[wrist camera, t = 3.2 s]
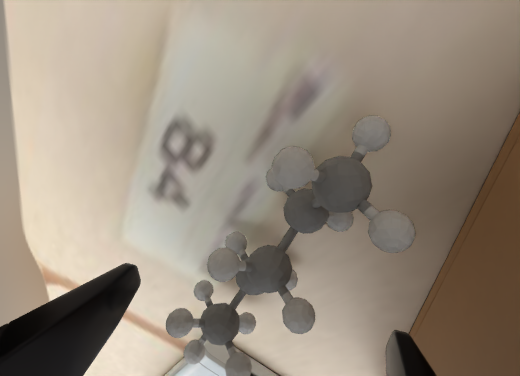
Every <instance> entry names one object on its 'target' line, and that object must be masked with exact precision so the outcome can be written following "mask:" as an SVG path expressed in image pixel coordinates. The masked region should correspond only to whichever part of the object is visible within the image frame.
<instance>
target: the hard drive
mask: <svg viewBox="0 0 520 376" xmlns="http://www.w3.org/2000/svg"><path fill="white" fill-rule="evenodd" d="M204 346H205V355H204V357H203V359H202V360H201V361H200V362H199V363H197V364H189V363H187V361H186V360H185V358H183V359H182V360H181V361H180V362H179V363H178V364H176V365H175V366H174V367H173V368H172V369H171V370H170V371H169V372H168V373H167V374H166V375H164V376H226V371H225V365H226V362H227V360H228V359H229V357H230V356H229V354H228V351H227V349H226V346H225V345H214V344H211V343H210V342H209V341H208V340H207V341H206V342H205V343H204ZM235 349H236V352H242V351H240V350H239V349H237V348H236V347H235ZM247 356H248V355H247ZM248 357H249V356H248ZM249 358H250V360H251V364H252V370H251V375H250V376H278V375H277V374H275V373H274V372H272V371H271V370H269V369H268V368H266V367H264V366H263V365H261V364H260V363H258V362H257V361H255V360H254V359H252V358H251V357H249Z"/></svg>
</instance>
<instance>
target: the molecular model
mask: <svg viewBox="0 0 520 376" xmlns="http://www.w3.org/2000/svg"><path fill="white" fill-rule="evenodd" d="M390 136H391V130H390V125H389V124H388V123H387V121H386V120H385V119H383V118H381V117H379V116H367V117H364V118H362V119H361V120H360V121H358V122H357V123H356V125H355V127H354V129H353V133H352V139H353V142H354V144H355V146H357V147H356V149H355V151H354V152H353V154H352V156H351V157H344V156H337V157H334V158H331V159H328V160H325V161H324V162H323V163H322V164H321V165H320V166H318V167H317V168H316V169H315V167H314V162H313V158H312V156H311V155H310V154H309V152H308V151H307V150H305V149H302V148H300V147H287V148H284V149H282V150H281V151H280V152H279V153H278V154H277V155H276V156H275V158H274V160H273V163H272V168H271V169H270V170H269V171H268V172H267V174H266V182H267V185H268V186H269V188H271V189H272V190H275V191H284V192H285V193H286V194H287V195H288V196H289V197H288V198H287V200H286V203H285V205H284V216H285V219H286V221H287V223H288V224H289V225H290V226H291V227H290V228H289V230H288V232H287V233H286V235H285V236H284V238H283V239H282V241H281V242H280V244H279V246H278V247H276V246H271V245H267V246H263V247H260V248H258V249H257V250H255V251H254V252H253V253H252V254H251V255H250V257H248V256H247V254H246V252H245V251H244V250H245V249H246V247H247V239H246V237H245V235H244V234H242V233H241V232H233V233H231V234H229V235H228V236H227V238H226V241H225V246H226V248H219V249H217V250H216V251H214V252H213V253H212V254H211V255H210V256H209V259H208V263H207V267H208V272H209V273H210V275H211V277H212V278H214V279H215V280H218V281H220V282H225V281H228V280H231V279H232V278H233V277H235V276H236V282H237V284H238V286H239V288H240V290H239V292H238V293H237V294H236V296H235V297H234V299H233V300H232V302H231V303H230V305H228V304H226V303H221V304H213V303H212V301H211V299H210V297H211V295H212V294H213V285H212V284H211V283H210V282H209V281H207V280H202V281H200V282H198V283H197V284H196V286H195V288H194V294H195V297H196V298H197V299H198V300H201V301H205V303H206V306H207V309H206V310H204V311H203V314H202V316H201V319H193V316H192V314H191V313H190V312H189V311H188V310H187V309H185V308H179V309H176V310H174V311H173V312H172V313H170V314H169V316H168V318H167V320H166V330H167V332H168V333H169V334H170V335H171V336H172V337H175V338H181V337H183V336H185V335H187V334H188V333H189V331H190V330H191V329H192V327H201V329H202V332H203V335H202V337H201V338H200V339H199V340H192V341H190V342H189V343H188V344H187V345H186V346H185V350H184V358H185V360H186V361H187V363H189V364H197V363H199V362H200V361H201V360H202V359H203V357H204V355H205V346H204V343H205V342H206V341H207V340H208V341H209V342H210V343H211V344H214V345H225V346H226V349H227V351H228V354H229V356H230V357H229V359H228V360H227V362H226V365H225V371H226V376H250V375H251V370H252V364H251V360H250V358H249V357H248V356H247V355H246V354H245V353H243V352H236V349H235V347H234V344H233V342H232V340H233V339H234V337H235V336H236V335H237V334H238V330H239V331H240V332H241V333H243V334H250V333H251V332H252V331H253V330H254V328H255V326H256V320H255V317H254V316H253V315H252V314H250V313H247V312H245V313H243V314H241V315H238V313H237V312H236V310H235V309H236V308H237V306H238V305H239V303H240V302H241V300H242V299H243V297H244V296H245V295H246V294H248V295H259V294H262V293H273V292H277V291H278V292H279V294H280V296H281V297H282V299H283V301H284V302H285V304H286V305H285V306H284V308H283V310H282V313H283V322H284V324H285V325H286V327H287V328H288V329H289V330H290V331H291V332H293V333H297V334H303V333H306V332H308V331H309V330H311V328H312V326H313V324H314V322H315V312H314V309H313V306H312V305H311V304H310V303H309V302H308V301H307V300H305V299H303V298H299V297H297V298H293V297H292V295H291V294H290V292H289V290H292V289H293V288H294V287H295V286H296V284H297V281H298V278H297V274H296V272H295V271H294V270H293V269H292V266H291V262H290V259H289V256H288V255H287V254H286V253H285V252H286V250H287V248H288V247H289V245H290V244H291V242H292V240H293V239H294V237H295V236H296V234H297V233H298V232H301V233H313V232H315V231H317V230H319V229H321V228H322V226H323V225H324V224H325V223H326V222H327V224H328V226H329V227H330V228H331V229H333V230H335V231H338V232H343V231H346V230H348V229H349V228H350V227H351V225H352V223H353V215H352V212H351V211H353V210H355V209H359V210H360V211H361V212H362V213H363V214H364V215H365V216H366V217H367V218H368V219H369V220H370V222H369V230H368V233H369V236H370V238H371V240H372V242H373V244H374V245H375V246H377V247H378V248H379V249H380V250H382V251H385V252H389V253H398V252H401V251H404V250H406V249H407V248H408V247H410V246H411V245H412V243H413V240H414V237H415V229H414V224H413V222H412V221H411V220H410V219H409V217H407V216H406V215H404V214H403V213H401V212H399V211H396V210H385V211H381V212H379V211H378V210H377V209H376V208H375V207H374V206H372V205H371V204H370V203H369V202H368V201H367V198H368V197H369V194H370V191H371V188H372V183H371V178H370V173H369V171H368V170H367V169H366V168H365V166H364V165H363V164H362V163H361V161H362V159H363V158H364V156H365V154H366V153H367V152H373V151H378V150H380V149H381V148H383V147H384V146H385V145H386V144H387V143H388V142H389V139H390ZM310 180H311V181H312V190H311V189H301V190H297V191H296V192H295V191H294V189H295V188H301V187H302V186H304V185H306V184H307V183H308V182H309V181H310ZM237 254H239V256H240V258H241V260H242V261H240V260H239V257H238V255H237Z"/></svg>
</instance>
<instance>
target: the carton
mask: <svg viewBox="0 0 520 376" xmlns="http://www.w3.org/2000/svg"><path fill="white" fill-rule="evenodd" d="M409 335H410V336H411V337H412V338H413V340H414V342H415V343H416V345H417V346H418V348H419V349H420V351H421V352H422V354H423V355H424V357H425V358H426V360H427V361H428V363H429V364H430V366H431V367H432V369H433V371H434V372H435V374H436V375H437V376H520V113H519V115H518V117H517V119H516V121H515V123H514V125H513V127H512V129H511V131H510V133H509V135H508V137H507V139H506V141H505V143H504V145H503V147H502V149H501V151H500V153H499V155H498V157H497V159H496V161H495V163H494V165H493V167H492V169H491V171H490V173H489V175H488V177H487V179H486V181H485V183H484V185H483V187H482V189H481V191H480V193H479V195H478V197H477V199H476V201H475V203H474V205H473V207H472V209H471V211H470V213H469V215H468V217H467V219H466V221H465V223H464V225H463V227H462V229H461V231H460V233H459V235H458V237H457V239H456V241H455V243H454V245H453V247H452V249H451V251H450V253H449V255H448V257H447V259H446V261H445V263H444V265H443V267H442V269H441V271H440V273H439V275H438V277H437V279H436V281H435V283H434V285H433V287H432V289H431V291H430V293H429V295H428V297H427V299H426V301H425V303H424V305H423V307H422V309H421V311H420V313H419V315H418V317H417V319H416V321H415V323H414V325H413V327H412V329H411V331H410V333H409Z"/></svg>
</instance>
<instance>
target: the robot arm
mask: <svg viewBox="0 0 520 376" xmlns="http://www.w3.org/2000/svg"><path fill="white" fill-rule="evenodd" d="M140 283H141V279H140V275H139V272H138V268H137V266H136V265H133V264H129V263H125V264H122V265H120V266H118V267H116V268H114V269H112V270H111V271H109V272H107V273H105V274H103V275H101V276H99V277H97V278H95V279H93V280H91V281H89V282H87V283H85V284H83V285H81V286H79V287H77V288H75V289H73V290H71V291H70V292H68V293H66V294H64V295H62V296H60V297H58V298H56V299H54V300H52V301H50V302H48V303H46V304H44V305H42V306H40V307H38V308H36V309H34V310H32V311H30V312H29V313H27V314H25V315H23V316H21V317H19V318H17V319H15V320H13V321H11V322H10V323H9V324H5V325H3V326H1V327H0V376H83V375H84V374H85V372H86V371H87V369H88V368H89V366H90V365H91V363H92V362H93V360H94V359H95V358H96V356H97V355H98V353H99V352H100V350H101V349H102V347H103V346H104V344H105V343H106V341H107V340H108V339H109V337H110V336H111V334H112V333H113V331H114V330H115V328H116V327H117V325H118V323H119V322H120V320H121V318H122V317H123V315H124V313H125V311H126V309H127V308H128V306H129V304H130V302H131V301H132V299H133V297H134V295H135V293H136V292H137V290H138V288H139V286H140ZM386 374H387V376H437V375H436V374H435V372H434V371H433V369H432V367H431V366H430V364H429V363H428V361H427V360H426V358H425V357H424V355H423V354H422V352H421V351H420V349H419V348H418V346H417V345H416V343H415V342H414V340H413V338H412V337H411V336H410V335H409V334H408V333H406V332H402V331H398V330H394V331H393V332H392V334H391V336H390V339H389V341H388V343H387V346H386Z"/></svg>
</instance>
